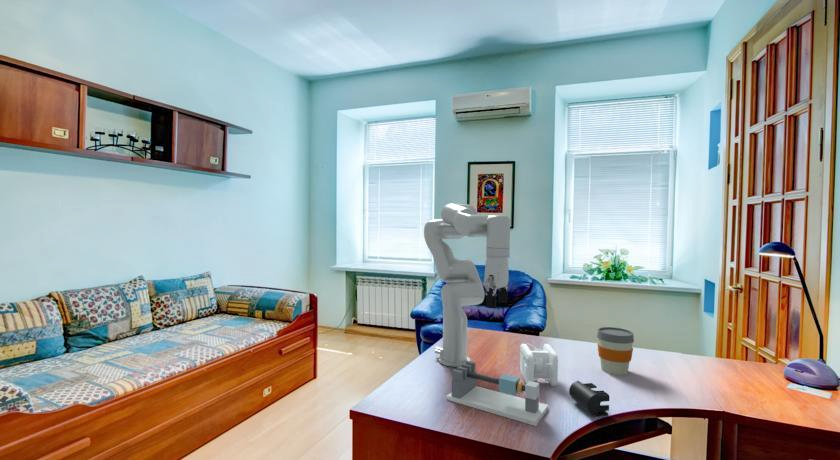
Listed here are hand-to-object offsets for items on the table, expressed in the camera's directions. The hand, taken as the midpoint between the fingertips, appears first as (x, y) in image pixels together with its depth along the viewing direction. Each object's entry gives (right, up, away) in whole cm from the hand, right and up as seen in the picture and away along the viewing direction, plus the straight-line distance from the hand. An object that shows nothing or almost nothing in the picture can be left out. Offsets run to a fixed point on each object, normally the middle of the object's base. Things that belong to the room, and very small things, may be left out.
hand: (496, 305), depth 130 cm
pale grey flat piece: (+20, -29, +40) cm, 53 cm away
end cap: (+25, -29, -12) cm, 40 cm away
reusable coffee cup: (+48, -29, +20) cm, 60 cm away
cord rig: (-2, -29, -9) cm, 30 cm away
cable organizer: (+16, -29, +9) cm, 34 cm away
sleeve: (+1, -24, -11) cm, 26 cm away
